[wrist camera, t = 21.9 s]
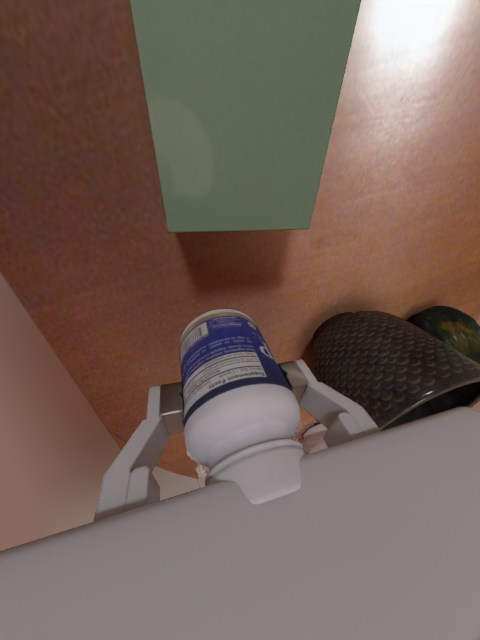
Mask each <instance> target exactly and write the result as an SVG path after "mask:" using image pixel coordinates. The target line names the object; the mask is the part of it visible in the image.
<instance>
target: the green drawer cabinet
mask: <svg viewBox="0 0 480 640" xmlns="http://www.w3.org/2000/svg"><path fill="white" fill-rule="evenodd" d="M129 1H130V7H131V13H132V19H133V25H134V31H135V37H136V43H137V49H138V55H139V61H140V67H141V73H142V79H143V85H144V91H145V97H146V103H147V109H148V115H149V121H150V127H151V133H152V139H153V145H154V151H155V157H156V163H157V169H158V175H159V181H160V187H161V193H162V199H163V205H164V211H165V217H166V223H167V229H168V232H169V233H171V232H212V231H253V230H294V229H309V226H310V222H311V218H312V213H313V209H314V204H315V200H316V196H317V191H318V187H319V183H320V178H321V174H322V169H323V165H324V161H325V156H326V152H327V147H328V143H329V139H330V134H331V130H332V125H333V121H334V117H335V112H336V108H337V104H338V99H339V95H340V90H341V86H342V82H343V77H344V73H345V68H346V64H347V60H348V55H349V51H350V47H351V42H352V38H353V33H354V29H355V25H356V20H357V16H358V11H359V7H360V3H361V0H129Z"/></svg>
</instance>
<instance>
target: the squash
mask: <svg viewBox="0 0 480 640" xmlns="http://www.w3.org/2000/svg"><path fill="white" fill-rule="evenodd" d="M412 324H413V325H415V326H417V327H419V328H420V329H422V330H424V331H425V332H427V333H429V334H431V335H432V336H434V337H436V338H437V339H439V340H441V341H442V342H444V343H446V344H448V345H449V346H451V347H453V348H454V349H456V350H457V351H459V352H461V353H462V354H464V355H465V356H467V357H468V358H470V359H472V360H473V361H475V362H476V363H478V364H480V326H479V325H478V324H477V323H476V321H475V320H474V319H473V318H472V317H470V316H469V315H467V314H465V313H463V312H461V311H459V310H457V309H454V308H451V307H447V306H434V307H431V308H429V309H427V310H425V311H424V312H419V313H417V314H415V316H414V317H413V318H412Z"/></svg>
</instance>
